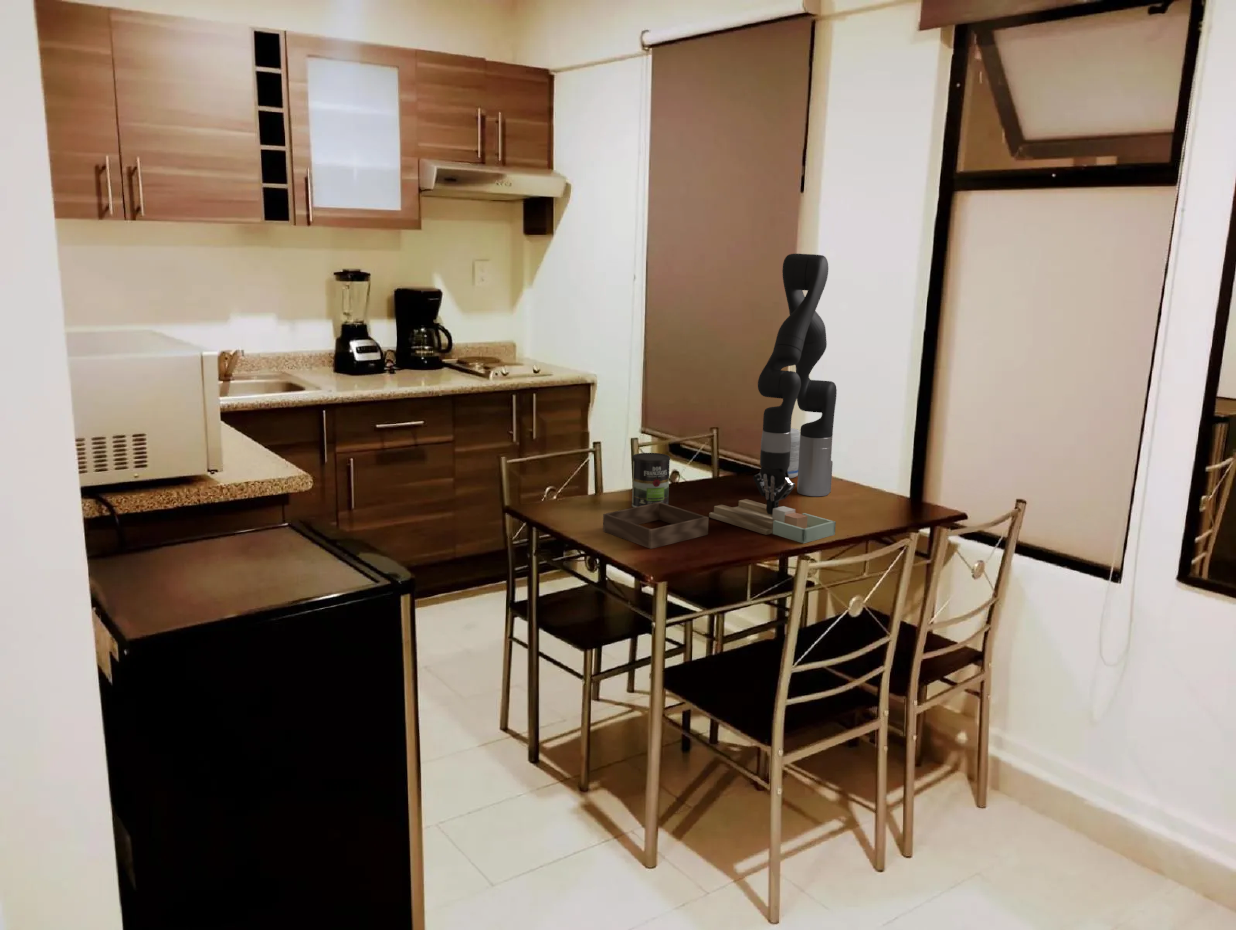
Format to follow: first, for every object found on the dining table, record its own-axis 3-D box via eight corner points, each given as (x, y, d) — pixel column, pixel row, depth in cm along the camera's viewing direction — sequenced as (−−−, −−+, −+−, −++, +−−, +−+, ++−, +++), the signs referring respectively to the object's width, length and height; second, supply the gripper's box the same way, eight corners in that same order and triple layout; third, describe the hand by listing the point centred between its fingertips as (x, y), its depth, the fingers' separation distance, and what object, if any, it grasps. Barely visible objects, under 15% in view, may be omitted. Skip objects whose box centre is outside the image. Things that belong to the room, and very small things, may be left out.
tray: (803, 525, 245) (804, 513, 244) (834, 534, 237) (835, 521, 236) (772, 533, 237) (773, 520, 236) (803, 543, 230) (804, 530, 229)
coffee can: (673, 509, 258) (675, 459, 255) (638, 512, 255) (639, 461, 252) (661, 500, 268) (662, 451, 265) (627, 502, 265) (627, 453, 262)
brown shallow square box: (659, 518, 249) (659, 502, 248) (707, 534, 236) (708, 517, 235) (603, 531, 238) (603, 513, 237) (650, 548, 224) (651, 530, 223)
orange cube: (794, 527, 241) (795, 512, 241) (806, 531, 238) (807, 516, 238) (784, 530, 239) (784, 515, 238) (796, 534, 236) (797, 518, 235)
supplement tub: (799, 473, 303) (802, 428, 299) (797, 480, 294) (800, 433, 290) (769, 471, 305) (771, 426, 302) (766, 477, 296) (768, 431, 293)
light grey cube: (782, 520, 244) (783, 506, 243) (794, 524, 241) (795, 509, 240) (772, 523, 242) (772, 508, 241) (783, 527, 239) (784, 512, 238)
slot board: (750, 507, 261) (750, 498, 261) (807, 523, 246) (807, 513, 246) (709, 517, 251) (709, 507, 251) (765, 534, 236) (766, 524, 236)
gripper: (805, 451, 238) (801, 517, 241) (766, 442, 248) (762, 506, 251) (785, 454, 233) (781, 522, 237) (746, 445, 243) (743, 510, 247)
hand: (771, 513), depth 244 cm, fingers closed
